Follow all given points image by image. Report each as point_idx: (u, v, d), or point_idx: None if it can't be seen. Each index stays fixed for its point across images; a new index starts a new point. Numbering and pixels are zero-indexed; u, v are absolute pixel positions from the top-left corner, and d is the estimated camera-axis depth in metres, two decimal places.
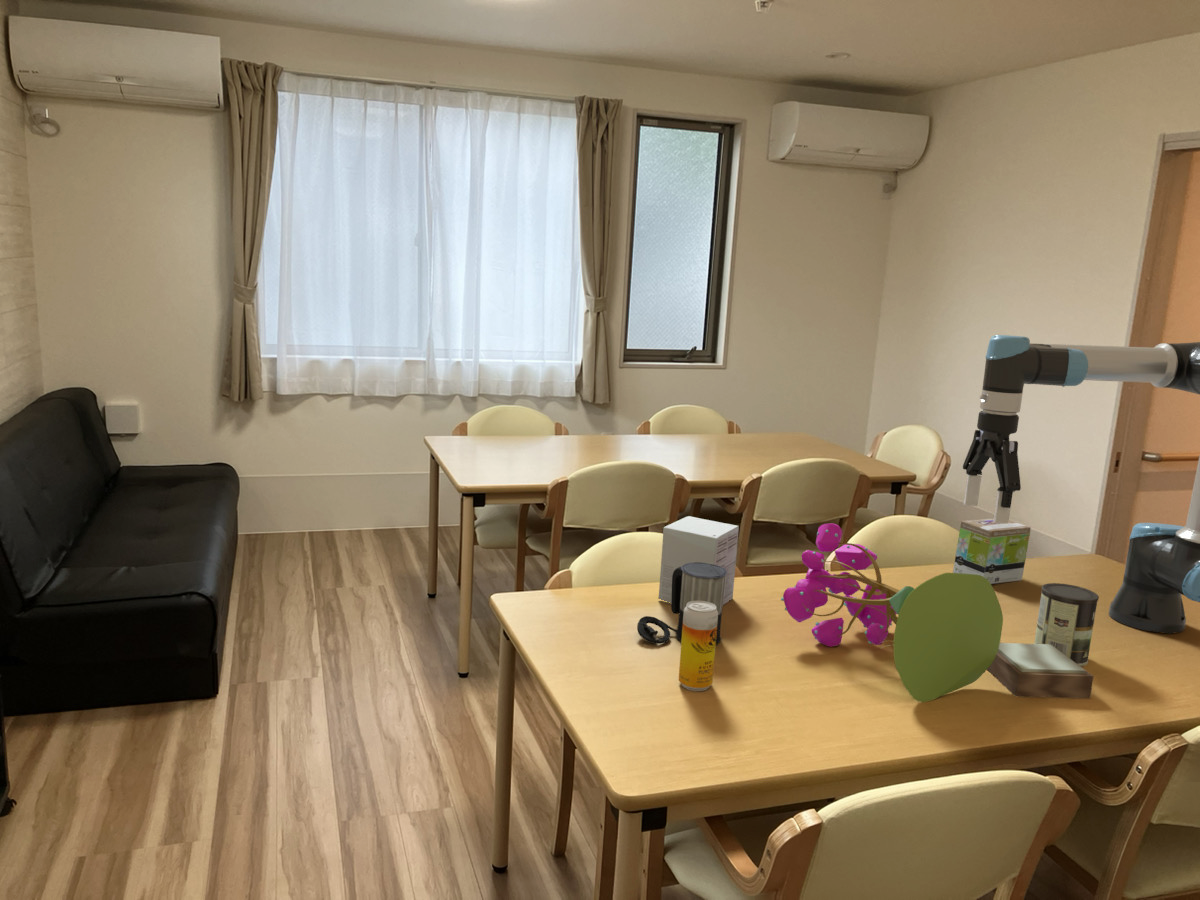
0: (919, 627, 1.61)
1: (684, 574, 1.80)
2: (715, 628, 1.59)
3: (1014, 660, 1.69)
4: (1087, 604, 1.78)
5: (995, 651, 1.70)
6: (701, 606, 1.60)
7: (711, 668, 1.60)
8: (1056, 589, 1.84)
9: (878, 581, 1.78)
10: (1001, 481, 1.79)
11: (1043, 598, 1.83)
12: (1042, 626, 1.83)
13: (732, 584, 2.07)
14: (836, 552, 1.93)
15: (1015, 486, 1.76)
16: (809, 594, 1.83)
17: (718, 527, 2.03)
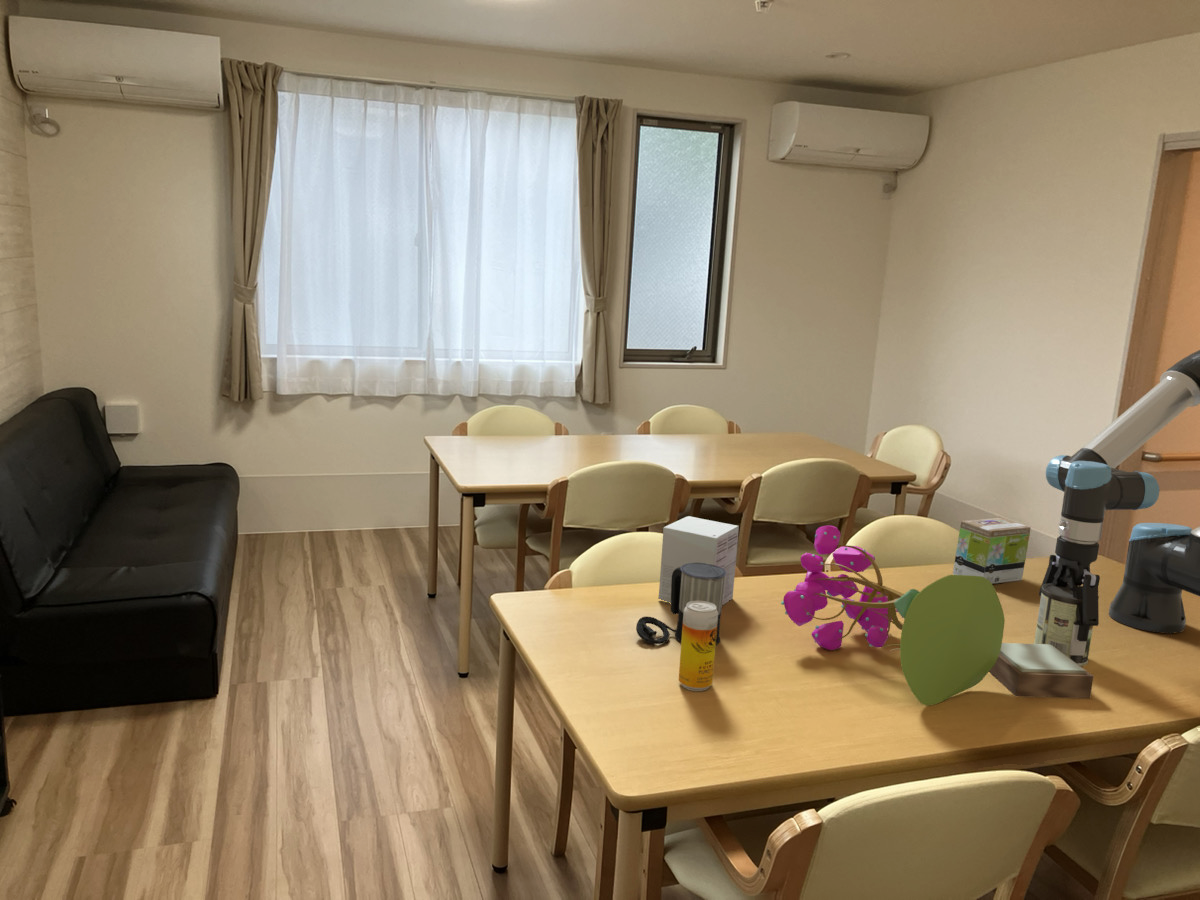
0: (925, 630, 1.60)
1: (683, 574, 1.80)
2: (715, 628, 1.59)
3: (1014, 660, 1.69)
4: None
5: (997, 652, 1.70)
6: (701, 606, 1.60)
7: (711, 668, 1.60)
8: (1056, 588, 1.84)
9: (879, 583, 1.76)
10: (1078, 614, 1.77)
11: (1043, 597, 1.83)
12: (1042, 626, 1.83)
13: (732, 584, 2.07)
14: (834, 554, 1.92)
15: (1093, 622, 1.75)
16: (809, 597, 1.81)
17: (718, 527, 2.03)
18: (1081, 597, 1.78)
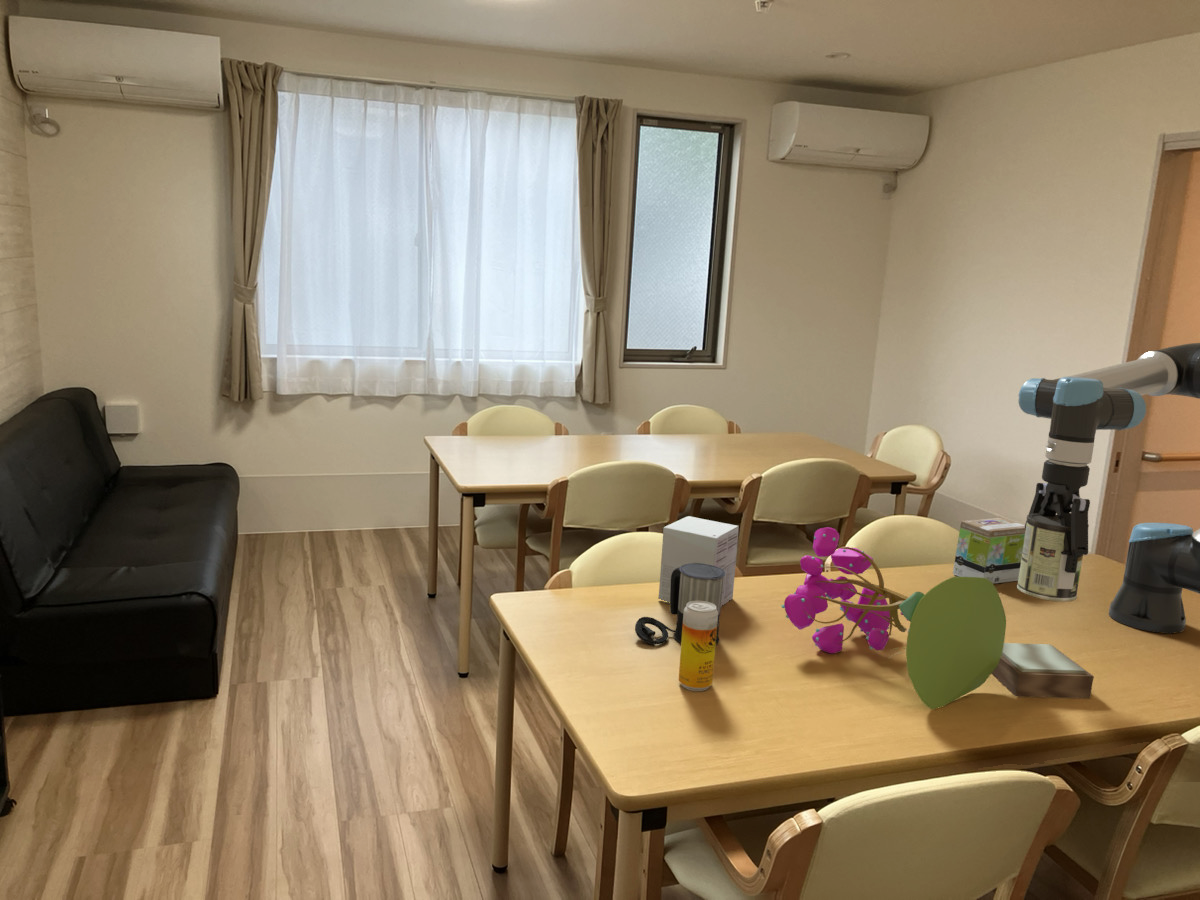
0: (930, 633, 1.58)
1: (682, 575, 1.80)
2: (715, 628, 1.59)
3: (1014, 660, 1.69)
4: None
5: (1000, 654, 1.69)
6: (701, 606, 1.60)
7: (711, 668, 1.60)
8: (1042, 518, 1.69)
9: (881, 586, 1.75)
10: (1066, 543, 1.62)
11: (1028, 527, 1.68)
12: (1027, 558, 1.68)
13: (732, 584, 2.07)
14: (832, 556, 1.90)
15: (1082, 550, 1.59)
16: (810, 600, 1.80)
17: (718, 527, 2.03)
18: (1069, 525, 1.63)
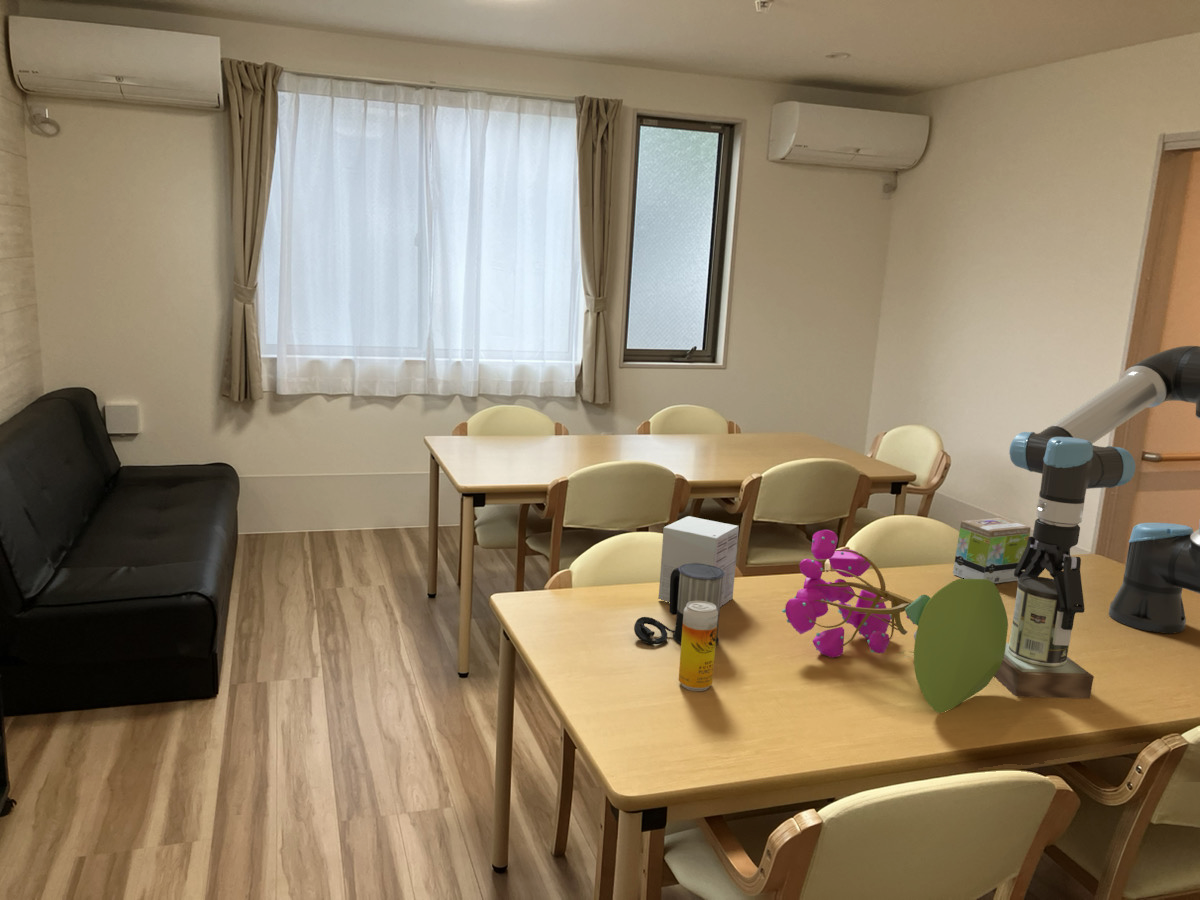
0: (937, 636, 1.57)
1: (681, 575, 1.80)
2: (715, 628, 1.59)
3: (1014, 660, 1.69)
4: None
5: (1002, 655, 1.68)
6: (701, 606, 1.60)
7: (711, 668, 1.60)
8: (1033, 582, 1.71)
9: (882, 589, 1.73)
10: (1062, 600, 1.62)
11: (1019, 592, 1.70)
12: (1018, 622, 1.70)
13: (732, 584, 2.07)
14: (830, 559, 1.88)
15: (1079, 608, 1.59)
16: (811, 604, 1.77)
17: (718, 527, 2.03)
18: (1063, 582, 1.64)
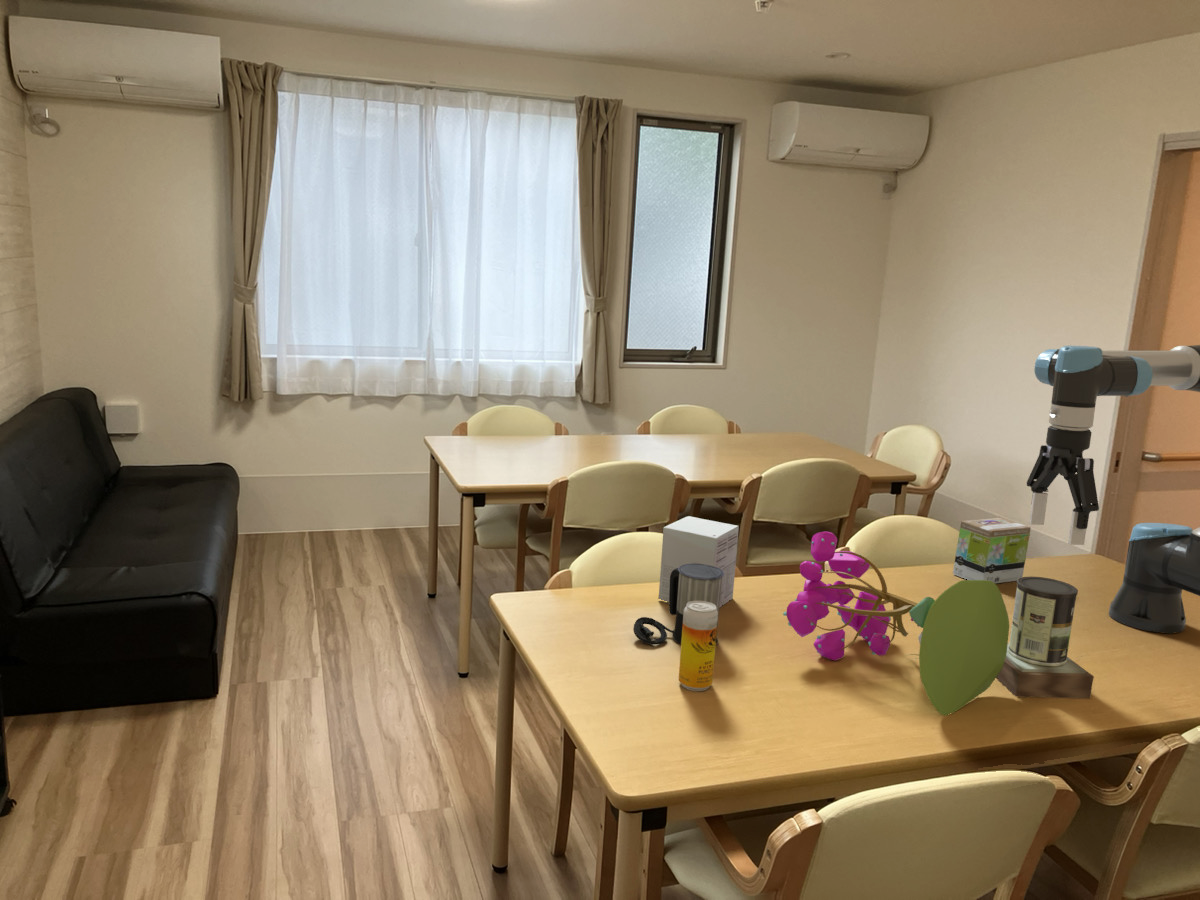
0: (941, 639, 1.56)
1: (681, 575, 1.79)
2: (715, 628, 1.59)
3: (1014, 660, 1.69)
4: (1065, 599, 1.65)
5: (1004, 656, 1.68)
6: (701, 606, 1.60)
7: (711, 668, 1.60)
8: (1032, 582, 1.71)
9: (884, 591, 1.72)
10: (1076, 501, 1.69)
11: (1018, 592, 1.70)
12: (1017, 622, 1.70)
13: (732, 584, 2.07)
14: (829, 561, 1.87)
15: (1093, 506, 1.66)
16: (812, 607, 1.76)
17: (718, 527, 2.03)
18: (1077, 484, 1.70)
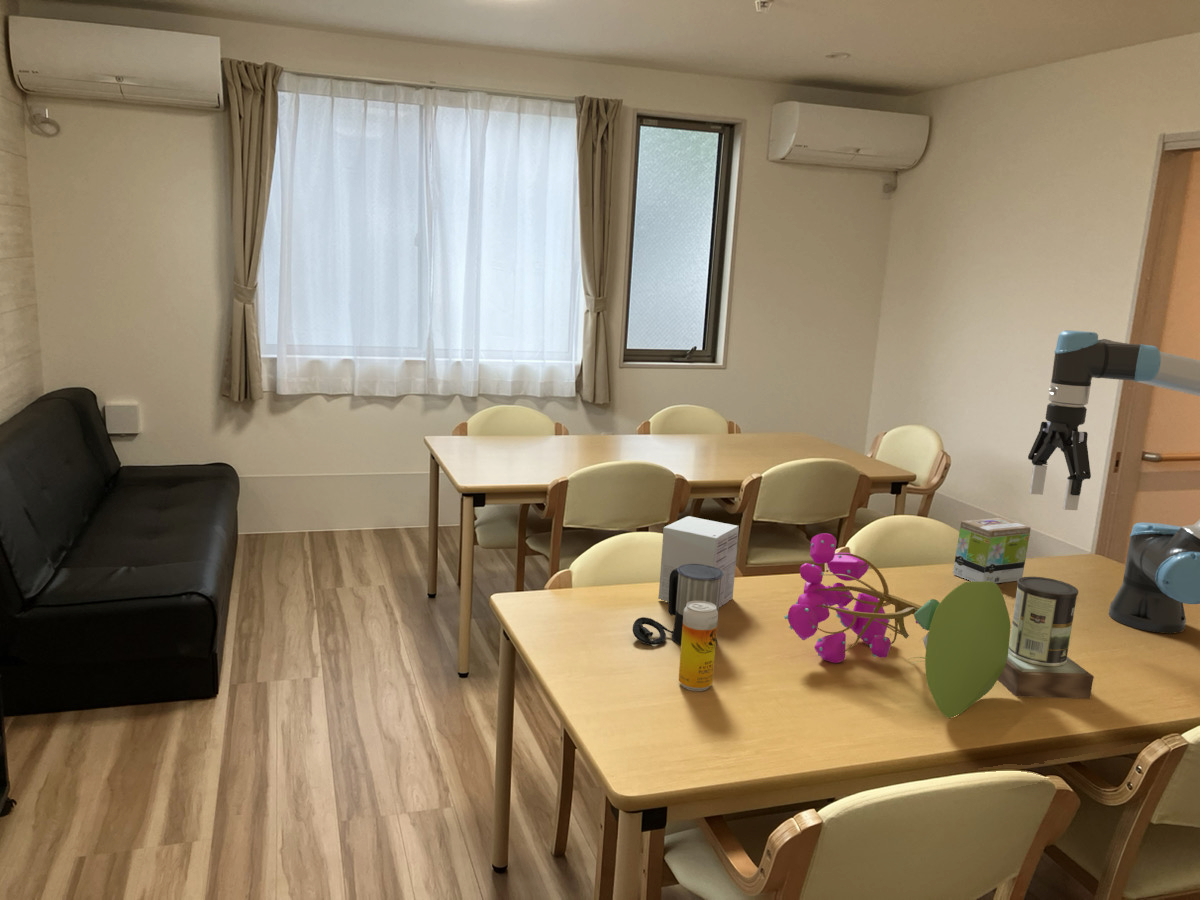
0: (946, 641, 1.55)
1: (680, 575, 1.79)
2: (715, 628, 1.59)
3: (1014, 660, 1.69)
4: (1065, 599, 1.65)
5: (1006, 657, 1.68)
6: (701, 606, 1.60)
7: (711, 668, 1.60)
8: (1033, 582, 1.71)
9: (886, 593, 1.71)
10: (1071, 470, 1.87)
11: (1018, 592, 1.70)
12: (1018, 622, 1.70)
13: (732, 584, 2.07)
14: (828, 562, 1.86)
15: (1086, 474, 1.84)
16: (813, 610, 1.75)
17: (718, 527, 2.03)
18: (1072, 455, 1.88)
